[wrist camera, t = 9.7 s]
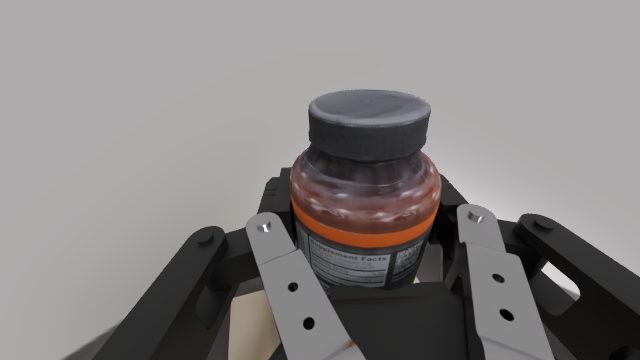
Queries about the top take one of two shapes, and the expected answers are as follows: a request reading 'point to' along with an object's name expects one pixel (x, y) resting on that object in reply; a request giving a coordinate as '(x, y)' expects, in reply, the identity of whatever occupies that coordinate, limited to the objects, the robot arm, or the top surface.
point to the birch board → (253, 328)
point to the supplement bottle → (365, 189)
